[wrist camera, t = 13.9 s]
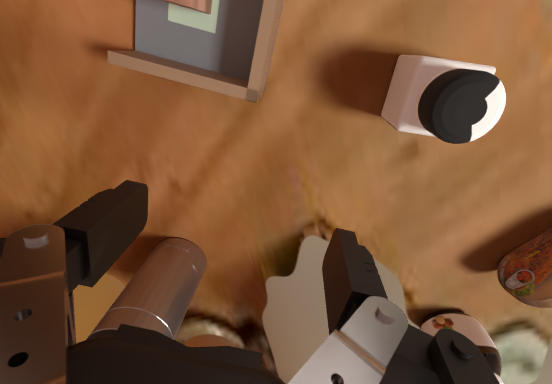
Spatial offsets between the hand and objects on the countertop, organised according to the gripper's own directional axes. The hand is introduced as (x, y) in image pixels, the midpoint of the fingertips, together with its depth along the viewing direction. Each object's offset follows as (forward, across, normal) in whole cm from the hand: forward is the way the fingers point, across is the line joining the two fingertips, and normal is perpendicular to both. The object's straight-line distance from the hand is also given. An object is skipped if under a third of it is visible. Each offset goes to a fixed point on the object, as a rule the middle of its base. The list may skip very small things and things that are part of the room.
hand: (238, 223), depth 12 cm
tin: (+27, -42, +10) cm, 51 cm away
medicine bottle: (+27, -16, -6) cm, 32 cm away
